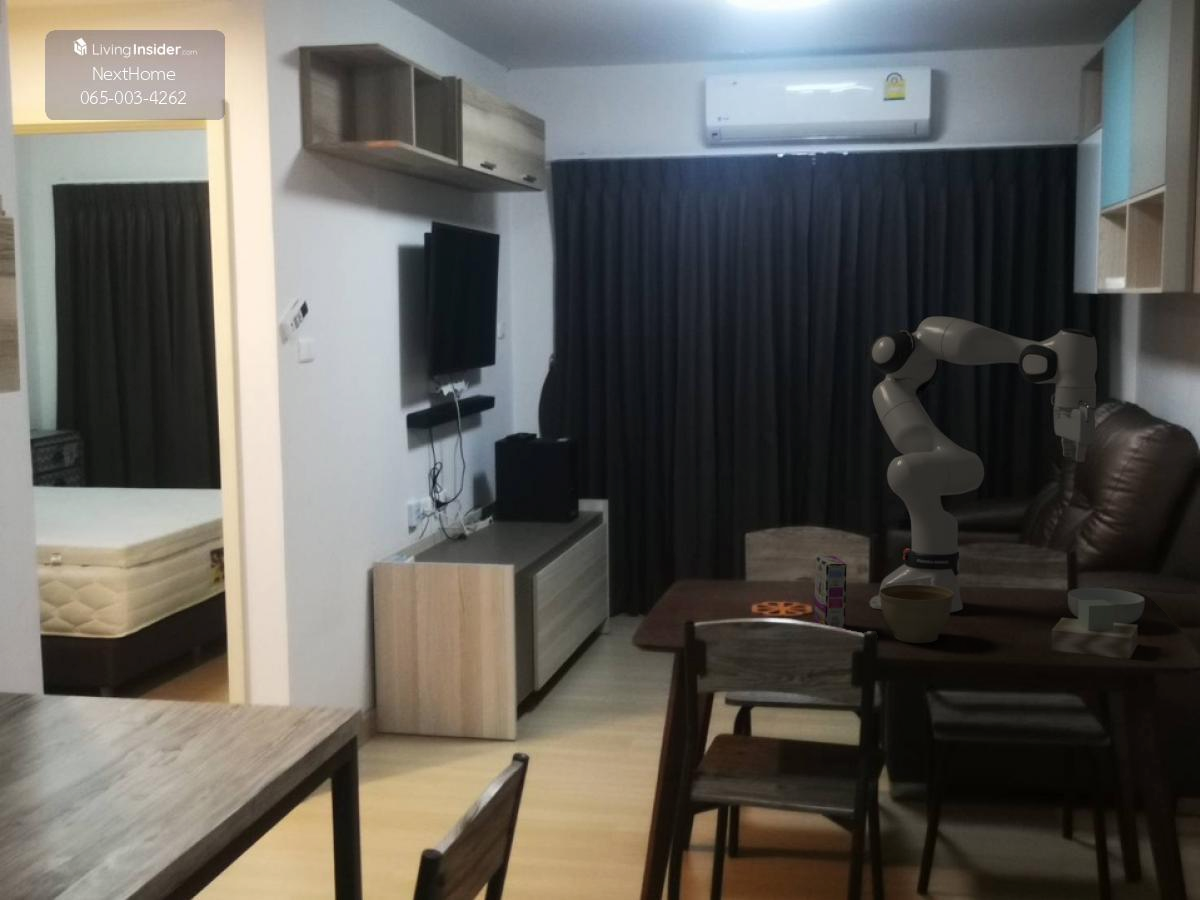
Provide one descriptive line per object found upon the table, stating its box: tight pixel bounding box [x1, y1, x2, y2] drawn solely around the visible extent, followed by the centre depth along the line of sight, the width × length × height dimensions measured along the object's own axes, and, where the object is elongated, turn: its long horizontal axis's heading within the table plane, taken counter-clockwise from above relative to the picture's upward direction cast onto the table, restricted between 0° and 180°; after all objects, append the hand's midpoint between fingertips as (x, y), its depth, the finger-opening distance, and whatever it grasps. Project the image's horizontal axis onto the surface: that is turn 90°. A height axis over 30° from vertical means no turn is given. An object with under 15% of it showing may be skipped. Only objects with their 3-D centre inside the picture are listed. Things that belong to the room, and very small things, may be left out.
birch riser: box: [1051, 617, 1139, 660], centre depth 293 cm, size 16×13×5 cm
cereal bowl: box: [1067, 587, 1146, 624], centre depth 314 cm, size 17×17×7 cm
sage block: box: [1077, 600, 1114, 631], centre depth 293 cm, size 6×6×6 cm
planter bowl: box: [879, 585, 953, 644], centre depth 302 cm, size 16×16×11 cm
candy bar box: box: [813, 555, 848, 629], centre depth 312 cm, size 11×5×16 cm, turn 5°
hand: (1073, 459), depth 310 cm, fingers open, 8 cm apart
